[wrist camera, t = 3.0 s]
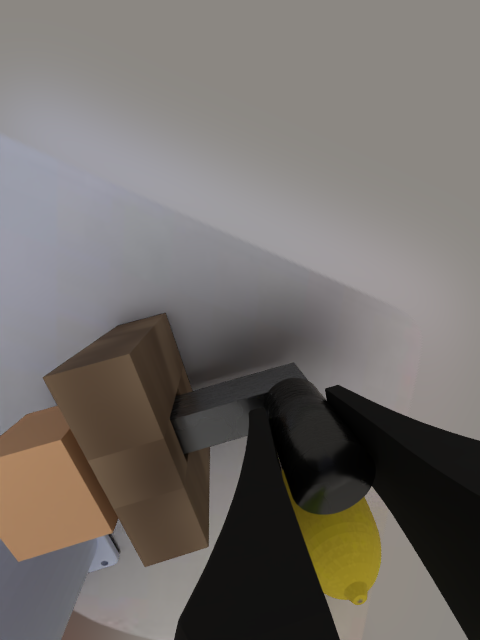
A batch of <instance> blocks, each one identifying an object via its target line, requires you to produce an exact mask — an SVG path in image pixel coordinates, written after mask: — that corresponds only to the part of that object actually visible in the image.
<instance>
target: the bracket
mask: <svg viewBox="0 0 480 640" xmlns="http://www.w3.org/2000/svg"><path fill="white" fill-rule="evenodd" d="M43 379H44V381H45V383H46V385H47V387H48V388H49V390H50V392H51V394H52V396H53V398H54V400H55V401H56V403H57V405H58V407H59V409H60V411H61V413H62V414H63V416H64V418H65V420H66V422H67V424H68V426H69V427H70V429H71V431H72V433H73V435H74V437H75V439H76V440H77V442H78V444H79V446H80V448H81V450H82V451H83V453H84V455H85V457H86V459H87V461H88V463H89V464H90V466H91V468H92V470H93V472H94V474H95V476H96V477H97V479H98V481H99V483H100V485H101V487H102V489H103V490H104V492H105V494H106V496H107V498H108V500H109V502H110V503H111V505H112V507H113V509H114V511H115V513H116V514H117V516H118V518H119V520H120V522H121V524H122V526H123V527H124V529H125V531H126V533H127V535H128V537H129V539H130V540H131V542H132V544H133V546H134V548H135V550H136V552H137V553H138V555H139V557H140V559H141V561H142V563H143V565H144V566H145V567H147V566H150V565H153V564H156V563H159V562H163V561H166V560H169V559H172V558H175V557H178V556H181V555H185V554H188V553H191V552H194V551H197V550H200V549H203V548H207V547H209V475H210V447H207V448H204V449H200V450H197V451H194V452H190V453H187V454H183V452H182V449H181V447H180V444H179V441H178V439H177V436H176V434H175V431H174V429H173V426H172V424H171V421H170V415H171V411H172V407H173V404H174V400H175V396H177V395H181V394H184V393H188V392H191V391H192V388H191V385H190V383H189V380H188V377H187V374H186V371H185V368H184V365H183V362H182V359H181V357H180V354H179V351H178V348H177V345H176V342H175V339H174V336H173V333H172V331H171V328H170V325H169V322H168V319H167V316H166V313H164V314H160V315H156V316H152V317H149V318H145V319H141V320H137V321H134V322H130V323H126V324H122V325H118V326H116V327H115V328H113V329H112V330H111V331H109V332H108V333H106V334H105V335H103V336H102V337H100V338H99V339H97V340H96V341H95V342H93V343H92V344H90V345H89V346H87V347H86V348H84V349H83V350H82V351H80V352H79V353H77V354H76V355H74V356H73V357H71V358H70V359H69V360H67V361H66V362H64V363H63V364H61V365H60V366H58V367H57V368H56V369H54V370H53V371H51V372H50V373H48V374H47V375H45V376H44V377H43Z"/></svg>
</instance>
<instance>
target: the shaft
mask: <svg viewBox="0 0 480 640" xmlns="http://www.w3.org/2000/svg"><path fill="white" fill-rule="evenodd" d="M261 407H264V409H265V411H266V414H267V416H268V420H269V424H270V428H271V432H272V436H273V440H274V444H275V447H276V450H277V453H278V456H279V459H280V462H281V465H282V468H283V471H284V474H285V477H286V480H287V483H288V486H289V489H290V492H291V495H292V498H293V500H294V501H295V503H296V504H297V505H298V506H299V507H300V508H302V509H303V510H305V511H307V512H309V513H313V514H318V515H327V514H334V513H338V512H341V511H344V510H346V509H348V508H350V507H352V506H353V505H355V504H356V503H358V502H359V501H360V500H361V499H362V498H363V497H364V496H365V495H366V494H367V492H368V491H369V490H370V488H371V486H372V484H373V482H374V479H375V473H376V467H375V462H374V460H373V458H372V456H371V455H370V453H369V452H368V451H367V450H366V449H365V447H364V446H363V445H362V444H361V442H360V441H359V440H358V439H357V437H356V436H355V435H354V434H353V433H352V431H351V430H350V429H349V428H348V426H347V425H346V424H345V423H344V421H343V420H342V419H341V418H340V417H339V415H338V414H337V413H336V412H335V410H334V409H333V408H332V407H331V406H330V404H329V403H328V402H327V401H326V399H325V398H324V397H323V396H322V394H321V393H320V392H319V391H318V390H317V388H316V387H315V386H314V385H313V384H312V383H311V382H309V381H308V380H307V378H306V377H305V376H304V375H303V373H302V372H301V371H300V370H299V368H298V367H297V366H296V365H295V363H290V364H287V365H283V366H280V367H276V368H273V369H269V370H266V371H262V372H259V373H255V374H251V375H248V376H244V377H241V378H237V379H234V380H230V381H227V382H223V383H220V384H216V385H213V386H209V387H206V388H202V389H199V390H195V391H191V392H188V393H184V394H181V395H177V396H175V400H174V404H173V407H172V411H171V415H170V421H171V424H172V426H173V429H174V431H175V434H176V436H177V439H178V441H179V444H180V447H181V449H182V452H183V454H187V453H190V452H194V451H197V450H200V449H204V448H207V447H210V446H214V445H217V444H221V443H224V442H227V441H231V440H234V439H237V438H241V437H244V436H248V429H249V414H248V413H249V412H250V410H254V409H257V408H261Z"/></svg>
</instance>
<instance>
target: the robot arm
mask: <svg viewBox="0 0 480 640" xmlns="http://www.w3.org/2000/svg"><path fill="white" fill-rule="evenodd" d="M325 392H326V398H327V402H328V403H329V404H330V406H331V407H332V408H333V409H334V410H335V412H336V413H337V414H338V415H339V417H340V418H341V419H342V420H343V421H344V423H345V424H346V425H347V426H348V428H349V429H350V430H351V431H352V433H353V434H354V435H355V436H356V437H357V439H358V440H359V441H360V442H361V444H362V445H363V446H364V447H365V449H366V450H367V451H368V452H369V453H370V455H371V456H372V458H373V460H374V462H375V467H376V473H375V479H374V482H373V484H372V487H373V488H374V489H375V491H376V492H377V493H378V495H379V496H380V497H381V499H382V500H383V501H384V503H385V504H386V506H387V507H388V509H389V510H390V511H391V513H392V514H393V516H394V518H395V519H396V521H397V522H398V524H399V525H400V527H401V528H402V530H403V532H404V533H405V535H406V537H407V538H408V540H409V541H410V543H411V544H412V546H413V547H414V549H415V551H416V552H417V554H418V556H419V557H420V559H421V561H422V562H423V564H424V566H425V567H426V569H427V570H428V572H429V574H430V575H431V577H432V578H433V580H434V582H435V584H436V585H437V587H438V589H439V590H440V592H441V594H442V595H443V597H444V598H445V601H446V602H447V604H448V605H449V607H450V609H451V610H452V612H453V614H454V616H455V617H456V619H457V621H458V622H459V624H460V626H461V628H462V629H463V631H464V632H465V634H466V636H467V638H468V640H480V441H479V440H474V439H471V438H468V437H464V436H461V435H458V434H455V433H451V432H448V431H445V430H442V429H439V428H437V427H434V426H431V425H428V424H425V423H422V422H420V421H417V420H414V419H412V418H409V417H407V416H405V415H402V414H400V413H397V412H395V411H393V410H390V409H388V408H386V407H383V406H381V405H379V404H377V403H375V402H373V401H370V400H368V399H366V398H364V397H362V396H360V395H358V394H356V393H354V392H352V391H350V390H348V389H346V388H344V387H341V386H339V385H336V386H333V387H329V388H326V389H325ZM248 414H249V429H248V438H247V445H246V451H245V456H244V460H243V465H242V470H241V473H240V477H239V481H238V484H237V488H236V491H235V494H234V497H233V500H232V503H231V506H230V509H229V512H228V515H227V517H226V520H225V523H224V525H223V528H222V530H221V533H220V535H219V537H218V539H217V542H216V544H215V546H214V549H213V551H212V553H211V555H210V558H209V560H208V562H207V564H206V567H205V569H204V571H203V573H202V575H201V577H200V579H199V581H198V583H197V585H196V587H195V589H194V591H193V593H192V595H191V597H190V598H189V600H188V602H187V604H186V606H185V608H184V610H183V612H182V614H181V616H180V618H179V621H178V625H177V629H176V633H175V638H174V640H340V639H339V636H338V633H337V630H336V627H335V624H334V621H333V618H332V615H331V612H330V609H329V607H328V604H327V601H326V598H325V596H324V593H323V590H322V588H321V585H320V582H319V579H318V577H317V574H316V571H315V568H314V566H313V563H312V560H311V557H310V554H309V552H308V549H307V546H306V543H305V541H304V538H303V535H302V532H301V529H300V526H299V524H298V521H297V518H296V515H295V512H294V509H293V506H292V504H291V501H290V498H289V495H288V492H287V489H286V486H285V483H284V480H283V476H282V472H281V467H280V463H279V459H278V455H277V451H276V447H275V444H274V440H273V436H272V432H271V428H270V424H269V420H268V416H267V414H266V411H265V409H264V407H261V408H257V409H254V410H250V412H249V413H248ZM119 556H120V555H119V553H118V551H117V549H116V547H115V546H114V544H113V542H112V540H111V539H110V537H109V535H104V536H101V537H98V538H95V539H91V540H88V541H85V542H82V543H78V544H75V545H72V546H69V547H65V548H62V549H59V550H56V551H52V552H49V553H46V554H43V555H39V556H36V557H33V558H30V559H26V560H23V561H20V562H18V561H17V560H16V558H15V557H14V556H13V554H12V553H11V552H10V550H9V549H8V548H7V546H6V545H5V544H4V542H3V541H2V540H1V538H0V640H61V638H62V636H63V633H64V631H65V628H66V626H67V623H68V621H69V618H70V616H71V613H72V611H73V608H74V606H75V603H76V601H77V598H78V596H79V593H80V591H81V588H82V586H83V583H84V581H85V578H86V576H87V573H90V572H93V571H96V570H99V569H102V568H106V567H109V566H112V565H114V564H116V563H117V562H118V559H119Z"/></svg>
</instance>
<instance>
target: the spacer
mask: <svg viewBox="0 0 480 640" xmlns="http://www.w3.org/2000/svg"><path fill="white" fill-rule="evenodd" d="M117 520H118V516H117V514H116V513H115V511H114V509H113V507H112V505H111V503H110V502H109V500H108V498H107V496H106V494H105V492H104V490H103V489H102V487H101V485H100V483H99V481H98V479H97V477H96V476H95V474H94V472H93V470H92V468H91V466H90V464H89V463H88V461H87V459H86V457H85V455H84V453H83V451H82V450H81V448H80V446H79V444H78V442H77V440H76V439H75V437H74V435H73V433H72V431H71V429H70V427H69V426H68V424H67V422H66V420H65V418H64V416H63V414H62V413H61V411H60V409H59V407H58V406H55V407H51V408H48V409H44V410H40V411H37V412H33V413H30V414H27V415H25V416H24V417H23V418H22V419H20V420H19V421H18V422H17V423H16V424H14V425H13V426H12V427H11V428H10V429H8V430H7V431H6V432H5V433H4V434H2V435H1V436H0V538H1V540H2V541H3V542H4V544H5V545H6V546H7V548H8V549H9V550H10V552H11V553H12V554H13V556H14V557H15V558H16V560H17V561H18V562H20V561H23V560H26V559H30V558H33V557H36V556H39V555H43V554H46V553H49V552H52V551H56V550H59V549H62V548H65V547H69V546H72V545H75V544H78V543H82V542H85V541H88V540H91V539H95V538H98V537H101V536H104V535H108V534H111V533H113V531H114V528H115V526H116V523H117Z"/></svg>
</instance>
